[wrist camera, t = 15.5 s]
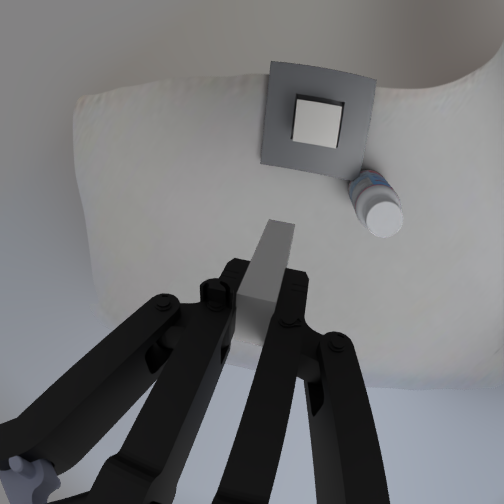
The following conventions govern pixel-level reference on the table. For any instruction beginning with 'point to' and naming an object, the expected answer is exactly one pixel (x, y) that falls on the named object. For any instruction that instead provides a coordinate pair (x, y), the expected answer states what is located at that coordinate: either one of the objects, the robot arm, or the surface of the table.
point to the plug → (317, 123)
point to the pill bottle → (376, 204)
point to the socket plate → (324, 91)
